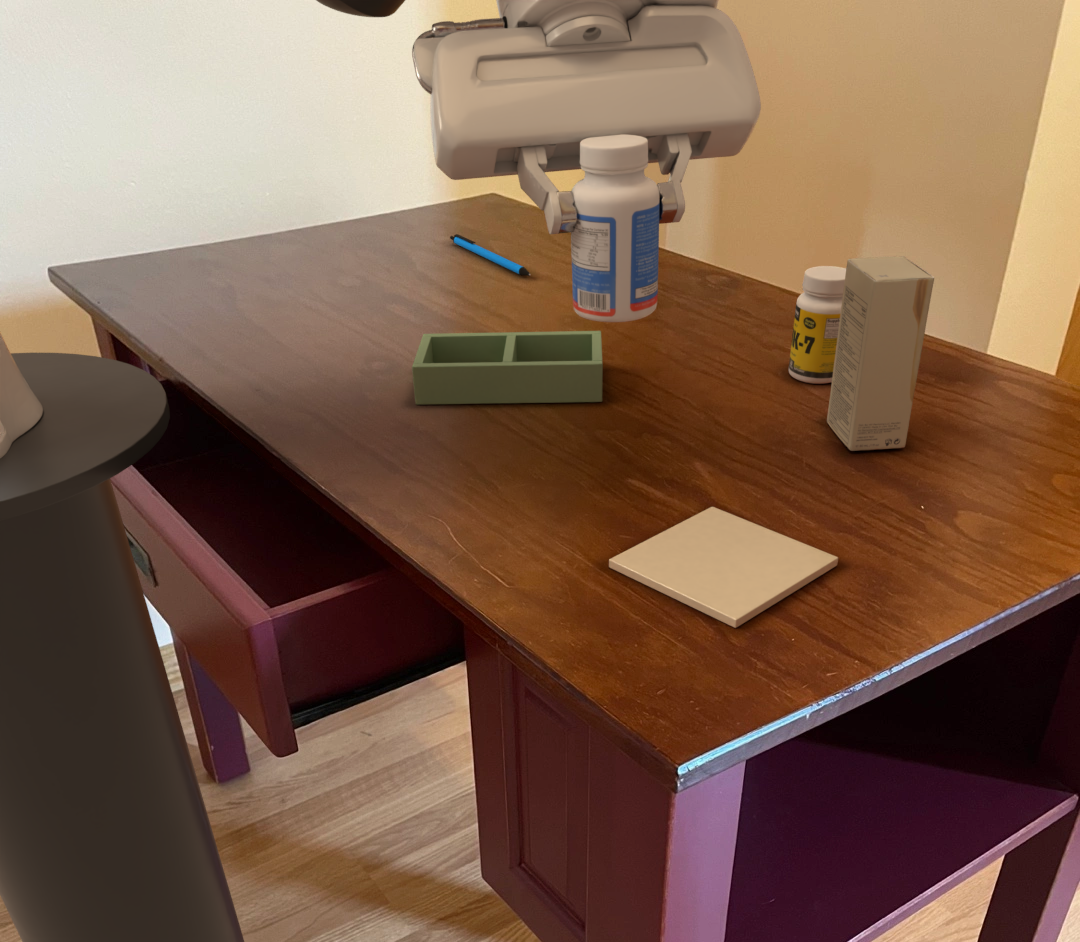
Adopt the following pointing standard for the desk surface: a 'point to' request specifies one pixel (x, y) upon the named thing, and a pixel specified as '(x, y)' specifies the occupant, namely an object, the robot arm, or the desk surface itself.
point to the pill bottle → (615, 231)
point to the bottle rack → (508, 368)
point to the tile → (723, 565)
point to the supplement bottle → (817, 325)
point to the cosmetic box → (878, 351)
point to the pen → (489, 255)
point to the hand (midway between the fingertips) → (618, 222)
